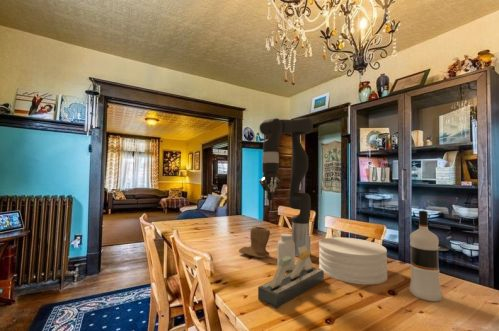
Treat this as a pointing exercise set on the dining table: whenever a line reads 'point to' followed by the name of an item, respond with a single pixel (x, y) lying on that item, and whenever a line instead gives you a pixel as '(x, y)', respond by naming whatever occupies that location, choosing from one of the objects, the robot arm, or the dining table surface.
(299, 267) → the lever amber
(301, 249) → the lever slate
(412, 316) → the dining table surface
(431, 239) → the vodka
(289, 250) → the pill bottle
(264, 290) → the switch strip
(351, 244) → the plate stack
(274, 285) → the lever sage
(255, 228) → the brown boot
